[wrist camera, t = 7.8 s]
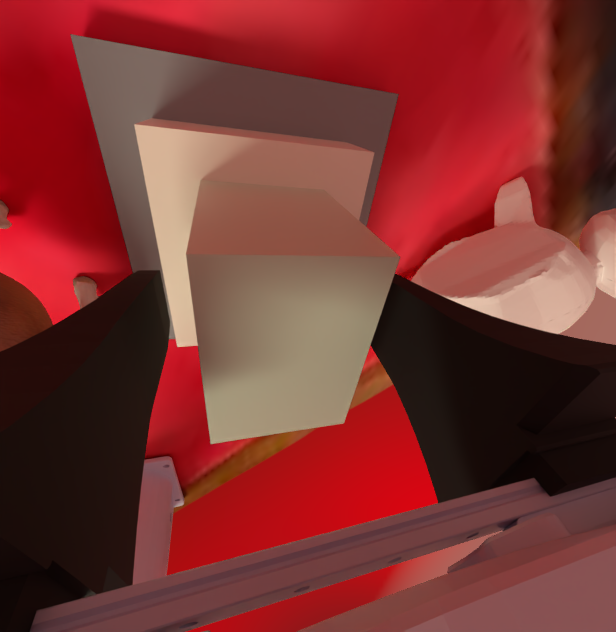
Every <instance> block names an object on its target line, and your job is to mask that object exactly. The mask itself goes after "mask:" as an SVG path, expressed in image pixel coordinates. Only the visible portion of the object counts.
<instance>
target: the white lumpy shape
mask: <svg viewBox="0 0 616 632" xmlns="http://www.w3.org/2000/svg"><path fill="white" fill-rule="evenodd" d="M495 201H496V202H495V210H494V212H495V215H494V228H493V229H490V230H487V231H484V232H481V233H477V234H475V235H473V236H471V237H465V238H463V239H461V240H459V241H454V242H451V243H449V244H448V245H445V246H444V247H443V248H442V249H440V250H438V251H437V252H436V253H435V254H434V255H431V257H430V258H428V259H427V261H426V262H425V263H423V266H421V267H420V269H419V270H418V271H417V273H416V274H415V275H414V277H413V278H412V280H411V281H412V282H414V283H416V284H418V285H420V286H422V287H424V288H426V289H428V290H430V291H432V292H434V293H437V294H439V295H441V296H443V297H445V298H447V299H450V300H452V301H454V302H457V303H459V304H461V305H464V306H466V307H469V308H471V309H474V310H477V311H480V312H482V313H485V314H488V315H491V316H493V317H497V318H500V319H503V320H506V321H509V322H513V323H516V324H520V325H523V326H527V327H530V328H534V329H538V330H542V331H546V332H550V333H555V334H559V333H561V332H563V331H565V330H566V329H568V328H569V327H571V326H572V325H573V324H574V323H575V322H576V321H577V320H578V319H579V318H580V317H581V316H582V315H583V314H584V313H585V312H586V311H587V309H588V307H589V306H590V304H591V303H592V301H593V299H594V295H595V290H596V286H597V287H598V288H599V289H600V290H602V291H604V292H605V293H607V294H609V295H611V296H612V297H614V298H616V208H615V209H611V210H608V211H602V212H600V213H598V214H596V215H594V216H593V217H591V219H590V220H589V221H588V223H587V224H586V226H585V227H584V229H583V230H582V232H581V235H580V239H579V244H580V250H579V249H578V248H577V247H576V246H575V245H574V244H573V243H572V242H571V241H570V240H569V239H567V238H566V237H565V236H563V235H561V234H560V233H558V232H555V231H553V230H550V229H547V228H543V227H540V226H538V225H537V224H536V222H535V220H534V215H533V210H532V203H531V196H530V191H529V188H528V185H527V183H526V182H525V180H524V178H523V177H519V178H516V179H514V180H512V181H509V182H507V183H505V184H504V185H502V186H501V187H500V189H499V192H498V195H497V199H496V200H495Z"/></svg>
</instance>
